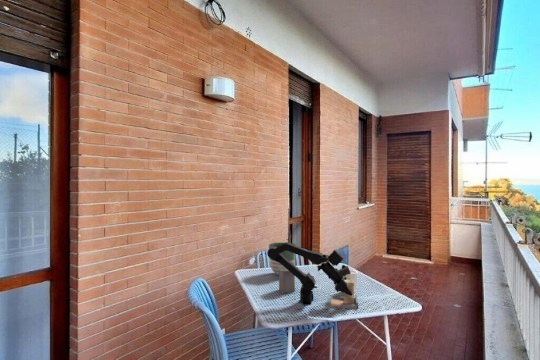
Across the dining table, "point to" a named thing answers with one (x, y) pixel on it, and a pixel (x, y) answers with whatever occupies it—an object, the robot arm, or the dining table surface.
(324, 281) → the dining table surface
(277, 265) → the planter
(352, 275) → the foam cup
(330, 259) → the robot arm
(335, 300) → the tray
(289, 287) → the pillar candle
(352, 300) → the beech block
